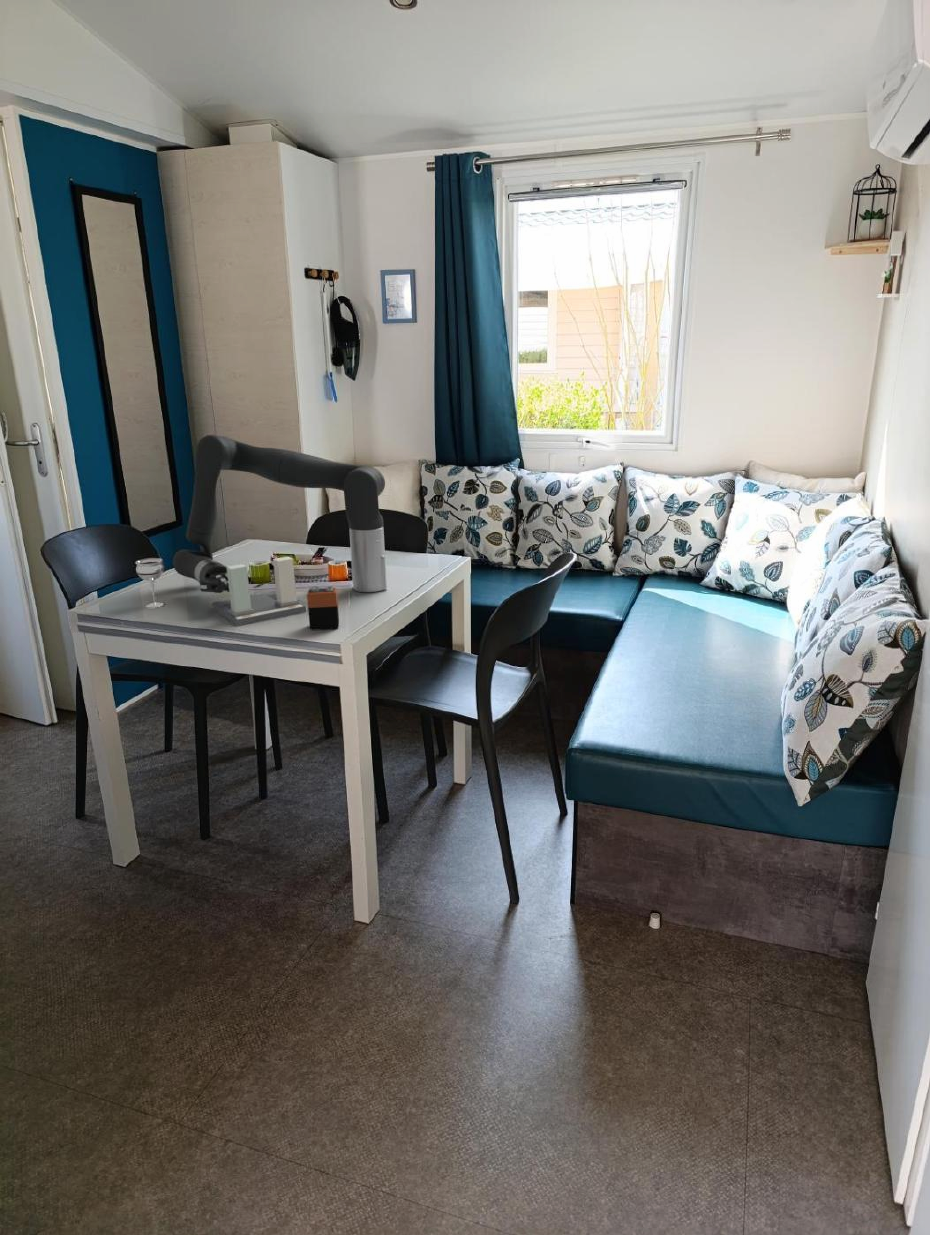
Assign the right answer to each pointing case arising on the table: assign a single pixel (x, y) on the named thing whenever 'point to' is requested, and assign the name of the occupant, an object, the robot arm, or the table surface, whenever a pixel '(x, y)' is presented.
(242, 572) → the sage tab
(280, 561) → the cream tab
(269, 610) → the grey square tray
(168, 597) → the table surface
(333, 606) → the battery
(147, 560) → the wineglass
